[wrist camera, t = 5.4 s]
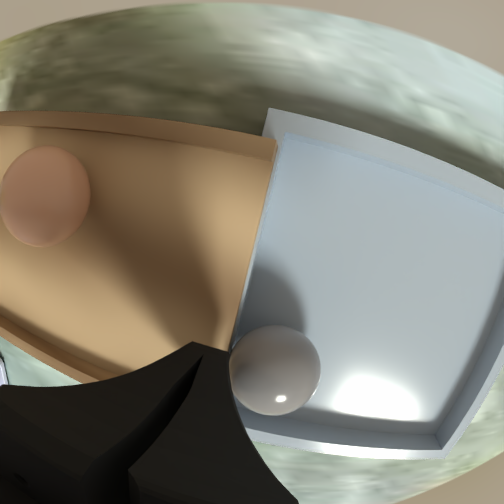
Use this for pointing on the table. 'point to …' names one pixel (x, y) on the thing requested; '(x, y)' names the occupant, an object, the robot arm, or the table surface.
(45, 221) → the pebble terracotta
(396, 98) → the table surface
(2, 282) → the oak tray
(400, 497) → the table surface
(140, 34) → the table surface
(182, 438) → the robot arm
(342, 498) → the table surface
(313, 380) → the pebble grey
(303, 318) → the ceramic dish
